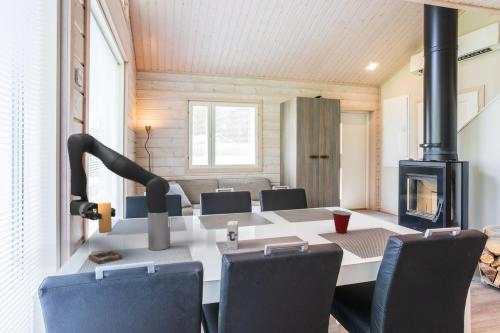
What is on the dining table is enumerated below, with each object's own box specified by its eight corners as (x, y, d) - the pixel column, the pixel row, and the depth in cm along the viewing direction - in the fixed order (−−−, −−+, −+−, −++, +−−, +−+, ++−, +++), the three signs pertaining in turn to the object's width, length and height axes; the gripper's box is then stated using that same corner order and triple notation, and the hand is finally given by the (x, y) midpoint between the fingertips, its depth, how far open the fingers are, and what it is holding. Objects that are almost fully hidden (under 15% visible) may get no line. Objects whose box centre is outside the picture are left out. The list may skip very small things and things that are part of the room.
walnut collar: (111, 253, 143) (111, 250, 143) (122, 258, 137) (122, 254, 137) (88, 258, 136) (88, 255, 136) (98, 264, 129) (98, 260, 129)
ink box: (228, 244, 158) (228, 220, 158) (238, 244, 158) (238, 220, 158) (226, 249, 150) (226, 224, 149) (237, 249, 150) (237, 224, 149)
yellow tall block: (108, 229, 139) (107, 202, 139) (113, 231, 136) (113, 203, 136) (96, 231, 136) (95, 203, 135) (101, 233, 132) (101, 204, 132)
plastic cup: (351, 235, 175) (351, 213, 174) (331, 234, 178) (331, 212, 178) (351, 231, 185) (352, 210, 184) (332, 229, 188) (332, 209, 188)
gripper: (73, 204, 140) (89, 208, 128) (106, 200, 150) (124, 204, 139) (74, 221, 140) (90, 227, 129) (107, 216, 151) (124, 221, 139)
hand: (107, 215), depth 134 cm, fingers closed on yellow tall block, 5 cm apart
